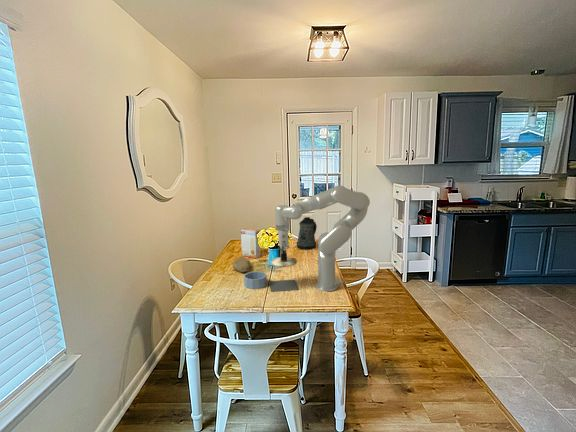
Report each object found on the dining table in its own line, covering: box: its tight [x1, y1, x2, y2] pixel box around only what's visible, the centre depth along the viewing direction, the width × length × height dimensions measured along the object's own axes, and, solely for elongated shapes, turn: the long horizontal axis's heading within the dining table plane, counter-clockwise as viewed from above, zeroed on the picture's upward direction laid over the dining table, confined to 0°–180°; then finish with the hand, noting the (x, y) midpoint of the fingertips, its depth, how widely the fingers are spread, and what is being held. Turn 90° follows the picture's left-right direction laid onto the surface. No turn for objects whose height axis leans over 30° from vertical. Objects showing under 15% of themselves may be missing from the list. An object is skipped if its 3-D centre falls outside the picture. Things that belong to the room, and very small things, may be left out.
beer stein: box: [296, 216, 318, 251], centre depth 261 cm, size 16×19×25 cm
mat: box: [268, 279, 300, 293], centre depth 181 cm, size 16×16×1 cm
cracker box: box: [240, 228, 261, 259], centre depth 237 cm, size 14×6×21 cm, turn 58°
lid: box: [270, 252, 298, 268], centre depth 178 cm, size 15×15×6 cm
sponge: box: [232, 256, 251, 273], centre depth 211 cm, size 13×8×20 cm
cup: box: [243, 271, 268, 290], centre depth 183 cm, size 13×13×6 cm
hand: (283, 258), depth 179 cm, fingers closed on lid, 3 cm apart
